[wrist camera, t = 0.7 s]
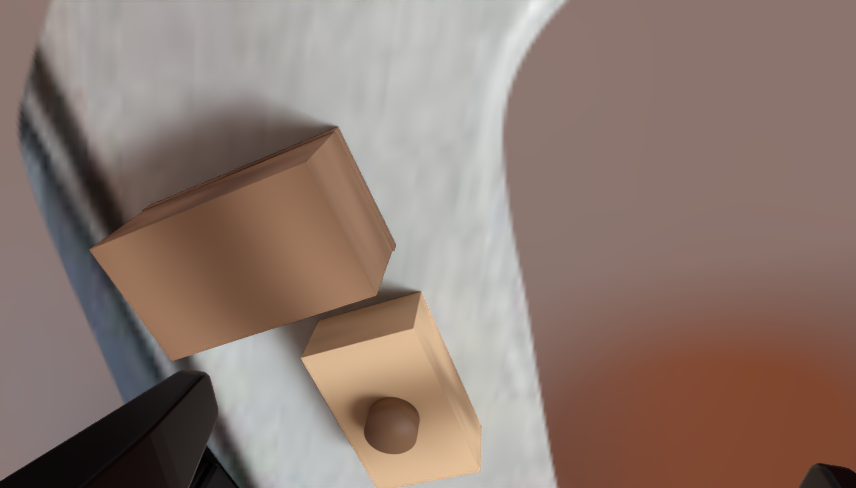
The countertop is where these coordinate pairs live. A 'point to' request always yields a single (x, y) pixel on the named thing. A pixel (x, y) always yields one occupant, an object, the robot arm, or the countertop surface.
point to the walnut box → (252, 248)
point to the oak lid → (396, 392)
